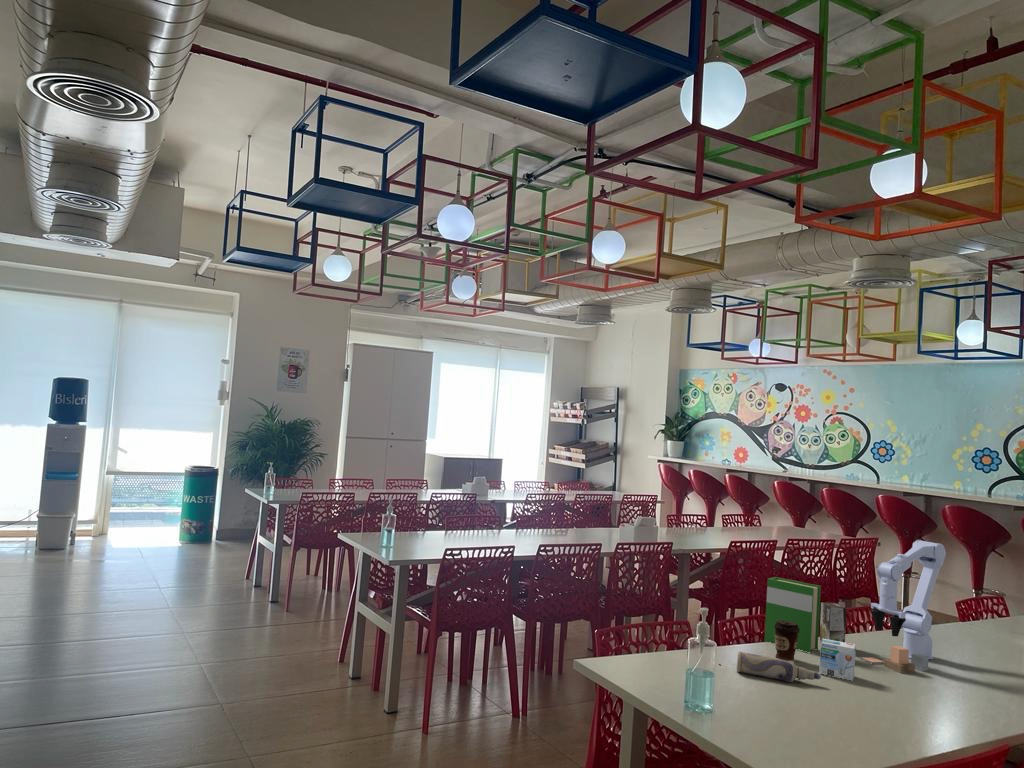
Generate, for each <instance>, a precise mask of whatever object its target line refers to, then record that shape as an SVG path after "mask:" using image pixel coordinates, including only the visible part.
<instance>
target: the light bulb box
mask: <svg viewBox="0 0 1024 768" xmlns="http://www.w3.org/2000/svg"><path fill="white" fill-rule="evenodd" d="M819 653H820V654H819V666H818V667H819V670H818V671H819V673H818V674H819V675H821V674H824V675H823V676H826V675H828V676H827V677H831V676H832V678H835V677H837V678H836V679H840V678H842V679H841V680H844V679H847V680H846V681H849V680H851V681H850V682H853V681H854V678H855V666H856V665H855V663H856V644H855V643H849V642H846V641H845V642H840V641H834V640H829V639H824V638H823V640H822V642H821V644H820V652H819Z"/></svg>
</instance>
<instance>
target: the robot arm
mask: <svg viewBox="0 0 1024 768" xmlns="http://www.w3.org/2000/svg"><path fill="white" fill-rule="evenodd" d="M946 555H947V552H946V549H945V545H943V544H942V543H939V542H938V543H937V542H930V541H925V540H921V539H916V540H915V541H913V542H912V546H911V548H910V549H909V550H908V551H907V552H905V553H904V554H903V553H898V554H896V556H894V557H893V558H892V559H890V560H889V561H887V562H886V561H884V562H881V563H879V565H878V567H877V569H876V572H877V576H878V582H879V584H880V587H879V603H876V602H871V603H870V608H871V610H870V614H871V615H872V618H873V620H874V625H875V629H876V631H883V629H884V628H883V627H884V621H885V616H886V614H888V615H890V616H888V617H889V620H890V621H889V622H890V625H891V635H892V637H899V634H900V631H901V630H902V631H903V643H902V644H903V645H902V647H904V648H906V649H909V658H910V659H911V654H914V653H920V654H923V655H927V656H929V657H928V660H934V657H933V639H932V637H931V635H930V634H929V633H930V632H931V629H932V623H933V622H932V621H933V616H932V615H931V614H930V612H929V611H928V607H929V605H930V601H931V598H932V594H933V591H934V587H935V584H936V582H937V577H938V576H939V571H940V568H942V567H943V565H944V562H945V558H946ZM916 560H917V561H918V563H920V564H921V565H922V566H923V567H922V571H921V575H920V576H919V581H918V584H917V586H916V591H915V593H914V597H913V599H912V602H911V604H910V605H908V606H904V607H903V610H900V609H898V606H897V605H898V588H899V587H898V583H899V582H898V581H899V580H901V578H902V575H903V574H904V572H906V571H907V570H908V569H910V568H911V567H912V563H913V562H915V561H916ZM891 615H892V616H891ZM909 658H908V659H909Z"/></svg>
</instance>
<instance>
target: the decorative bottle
mask: <svg viewBox="0 0 1024 768" xmlns="http://www.w3.org/2000/svg"><path fill="white" fill-rule="evenodd" d="M736 672H737V673H742V674H748V675H753V676H757V675H758V677H764V678H770V679H773V678H774V680H779V681H783V682H786V683H793V682H796V681H801V680H812V681H813V680H820V679H821V676H822V675H821V674H819V673H818V672H815V671H814V670H810V669H807V668H806V667H805V668H804V667H802V666H797V665H796V664H795V661H793V662H792V661H788V660H782V659H778V658H776V657H770V656H765V655H759V654H753V653H749V652H745V651H744V652H743V651H738V653H737V661H736Z"/></svg>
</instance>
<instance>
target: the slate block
mask: <svg viewBox="0 0 1024 768" xmlns="http://www.w3.org/2000/svg"><path fill="white" fill-rule="evenodd" d="M928 657H929V656H927V655H923V654H920V653H914V654H911V658H910V663H912V664H915V671H919V672H926V671H928V670H929V659H928Z"/></svg>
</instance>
